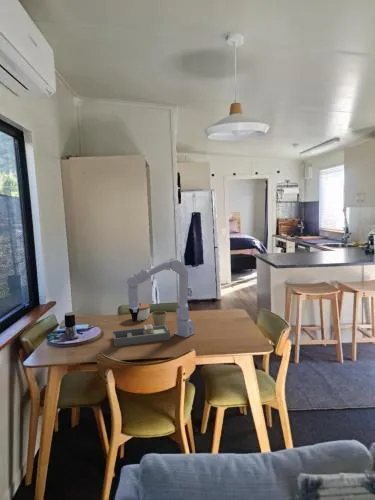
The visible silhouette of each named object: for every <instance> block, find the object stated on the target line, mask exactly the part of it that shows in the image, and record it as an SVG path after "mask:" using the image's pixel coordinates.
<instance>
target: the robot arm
mask: <svg viewBox="0 0 375 500" xmlns="http://www.w3.org/2000/svg"><path fill="white" fill-rule="evenodd" d="M164 270H165V271H166V270H167V271H171V270H172V271H173V272H175V273H176V274H177V275H179V277H178V302H177V307H176V309H175V313H176V315H177V317H176V331H175V332H174V333H173V334H174V335H177V336H180V337H183V338H189V336H192V335H194V334H196V333H195V328H194V327H195V326H194V325H195V324H194V321H193V320H191V319H190V316H191V314H190V311H189V304H188V291H189V289H188V288H189V287H188V286H189V272H188V270H187V268H186V266H185V265H184V263H183V262H182V261H180V260H178V259H177V258H175V257H171V258H170V259H167V260H165V261H163V262H161V263H159V264H158V265H155V266H154V267H152V268H150V269H141V270H140V271H139V272H137V273H133V275H130V276H128V277H127V279H126V283H127V294H128V295H127V297H128V299H127V301H128V305H126V308H127V309H128V311H129V313H130V315H131V319H132V323H135V322H138V321H137V317H138V313H139V303H140V299H139V298H140V296H139V295H140V294H139V284H142V283H144V282H146V281H148V280H150V279H151V278H152V276H153V275H156V274H157V273H160V272H162V271H164Z"/></svg>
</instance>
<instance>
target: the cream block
mask: <svg viewBox="0 0 375 500" xmlns="http://www.w3.org/2000/svg"><path fill="white" fill-rule="evenodd" d="M153 326H154V325H153V324H143V328H144V333H145V335H148V334H154V330H153Z"/></svg>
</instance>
